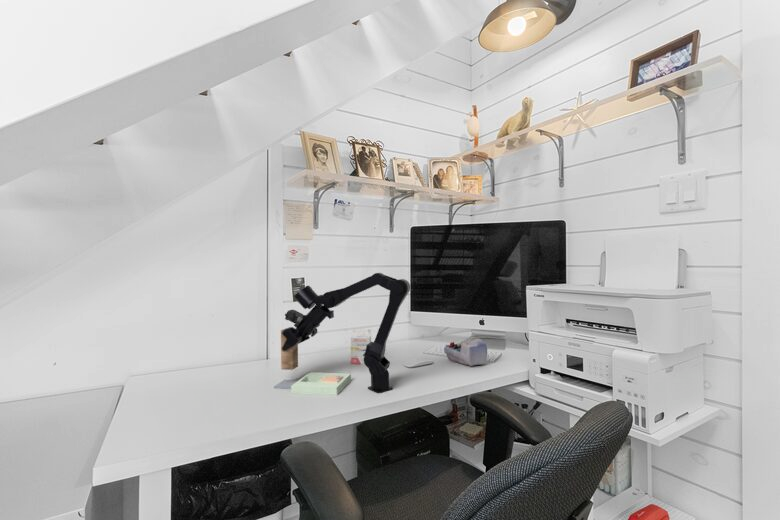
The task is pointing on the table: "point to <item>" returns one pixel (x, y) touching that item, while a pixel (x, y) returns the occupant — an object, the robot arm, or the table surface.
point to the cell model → (467, 352)
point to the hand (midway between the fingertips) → (285, 348)
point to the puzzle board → (321, 383)
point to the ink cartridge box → (359, 345)
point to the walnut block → (288, 355)
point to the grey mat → (285, 384)
